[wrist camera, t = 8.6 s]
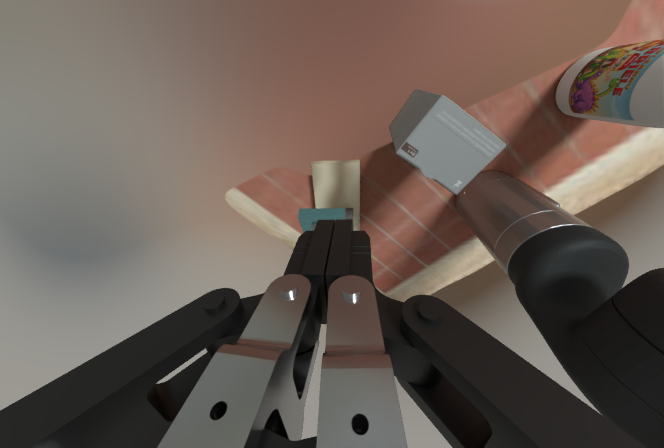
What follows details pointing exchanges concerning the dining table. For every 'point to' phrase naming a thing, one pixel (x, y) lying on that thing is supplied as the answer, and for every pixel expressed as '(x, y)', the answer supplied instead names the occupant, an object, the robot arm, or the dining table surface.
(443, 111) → the skincare box
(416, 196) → the dining table surface
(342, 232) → the robot arm
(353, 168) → the cracker base
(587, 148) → the dining table surface
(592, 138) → the dining table surface
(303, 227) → the lever
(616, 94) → the milk bottle
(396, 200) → the dining table surface
